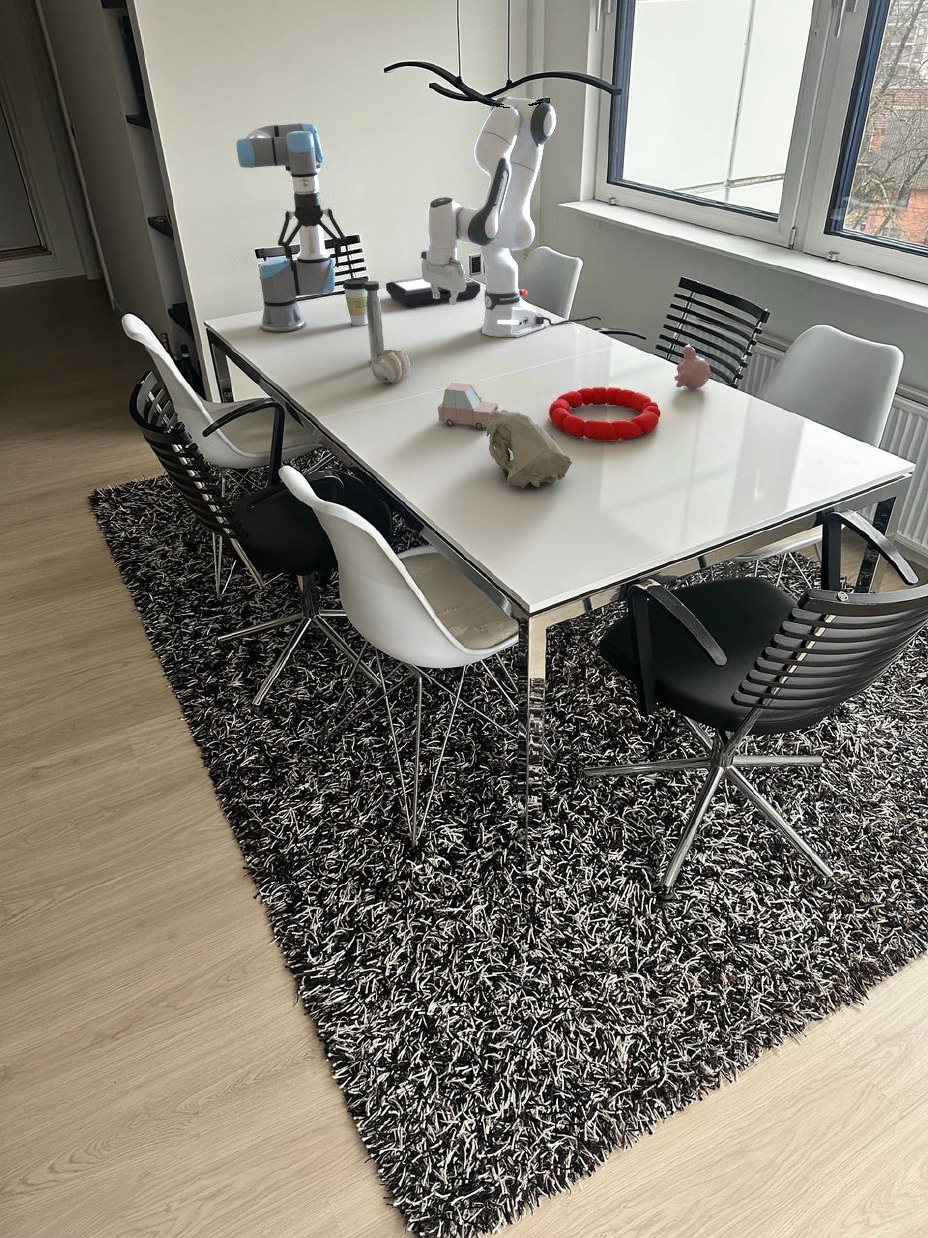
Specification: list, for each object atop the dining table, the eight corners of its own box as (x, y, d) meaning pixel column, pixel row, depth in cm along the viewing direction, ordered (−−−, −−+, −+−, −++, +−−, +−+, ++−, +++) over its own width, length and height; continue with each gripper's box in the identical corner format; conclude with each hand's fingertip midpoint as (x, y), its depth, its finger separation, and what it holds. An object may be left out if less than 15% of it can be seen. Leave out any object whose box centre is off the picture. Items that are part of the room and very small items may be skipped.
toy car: (488, 432, 240) (488, 396, 234) (436, 426, 244) (434, 390, 239) (499, 419, 247) (499, 384, 241) (448, 413, 252) (447, 379, 246)
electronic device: (403, 292, 336) (385, 281, 351) (404, 309, 340) (386, 297, 355) (480, 281, 346) (459, 270, 361) (480, 298, 350) (459, 286, 365)
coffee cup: (372, 326, 323) (368, 283, 314) (345, 327, 323) (340, 284, 315) (374, 318, 331) (371, 276, 322) (348, 319, 331) (344, 277, 323)
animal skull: (496, 517, 219) (521, 479, 201) (463, 429, 225) (484, 384, 207) (557, 503, 225) (586, 465, 206) (523, 417, 231) (549, 373, 212)
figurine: (665, 387, 264) (669, 347, 257) (693, 380, 268) (698, 340, 261) (686, 396, 257) (690, 355, 250) (714, 388, 262) (720, 348, 255)
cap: (380, 290, 277) (379, 283, 276) (365, 291, 276) (365, 285, 275) (378, 286, 281) (377, 280, 280) (363, 288, 280) (363, 281, 279)
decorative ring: (589, 435, 224) (684, 402, 234) (527, 398, 247) (617, 369, 256) (589, 461, 229) (683, 427, 238) (529, 422, 251) (617, 393, 260)
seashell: (364, 381, 275) (361, 349, 270) (407, 372, 281) (405, 341, 275) (377, 391, 268) (374, 358, 262) (421, 382, 273) (420, 349, 268)
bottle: (385, 362, 290) (379, 285, 276) (372, 364, 289) (365, 286, 275) (383, 358, 294) (377, 281, 280) (370, 359, 293) (363, 282, 279)
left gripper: (262, 196, 255) (273, 273, 267) (349, 191, 258) (357, 267, 270) (262, 192, 261) (273, 267, 273) (348, 187, 264) (355, 262, 276)
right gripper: (470, 259, 271) (471, 306, 279) (434, 248, 285) (435, 293, 293) (453, 263, 268) (454, 309, 276) (417, 251, 282) (419, 296, 290)
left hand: (315, 268), depth 271 cm, fingers open, 13 cm apart
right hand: (444, 301), depth 285 cm, fingers open, 8 cm apart
